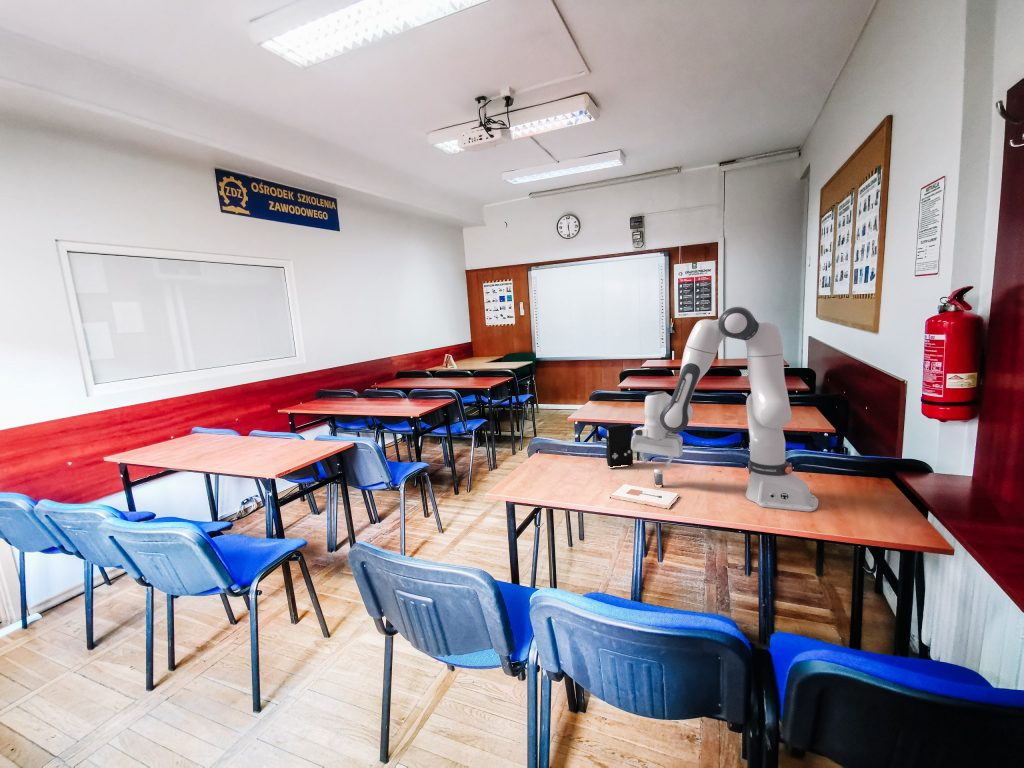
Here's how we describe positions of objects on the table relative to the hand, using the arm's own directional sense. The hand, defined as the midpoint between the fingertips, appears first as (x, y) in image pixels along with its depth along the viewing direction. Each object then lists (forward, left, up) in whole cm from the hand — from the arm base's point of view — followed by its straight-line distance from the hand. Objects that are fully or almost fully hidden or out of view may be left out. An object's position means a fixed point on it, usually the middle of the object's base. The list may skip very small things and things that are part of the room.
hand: (656, 464), depth 180 cm
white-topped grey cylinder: (-1, 0, -9) cm, 9 cm away
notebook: (0, +13, -9) cm, 16 cm away
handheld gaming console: (+23, -16, -10) cm, 30 cm away
